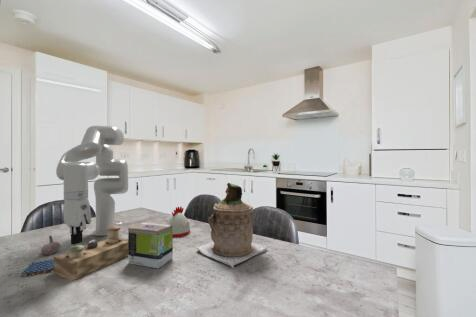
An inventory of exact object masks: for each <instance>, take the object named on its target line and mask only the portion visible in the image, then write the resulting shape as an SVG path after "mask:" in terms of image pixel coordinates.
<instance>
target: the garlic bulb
mask: <svg viewBox="0 0 476 317" xmlns="http://www.w3.org/2000/svg"><path fill="white" fill-rule="evenodd" d="M48 238H49V243H47V244H44V245H43V246H42V247H40V248H41V250H40V252H41V253H42V254H43V255H47V256H51V255H52V254H53V253H56V252H58V251H59V250H60V248H61V243H60V242H59V241H54V239H53V236H52V235H49V236H48Z"/></svg>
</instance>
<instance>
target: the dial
mask: <svg viewBox="0 0 476 317" xmlns="http://www.w3.org/2000/svg"><path fill="white" fill-rule="evenodd" d="M98 242H99V240H98V239H90V240H88V241H87V245H86V246H87V248H88V249H93V248H96V247H98Z"/></svg>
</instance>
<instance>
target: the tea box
mask: <svg viewBox="0 0 476 317" xmlns="http://www.w3.org/2000/svg"><path fill="white" fill-rule="evenodd" d="M127 229H128V232H127V234H128V236H127V237H128V238H127V240H128V256H127V257H128V260H127V261H128V263H129V264H132V265H137V266H138V265H139V266H143V267H148V268H153V269H160V268H162V267H163V266H164V265H165V264H167V263H168V262H170V261H171V260H173V258H174V257H173V256H174V255H173V254H174V253H173V252H174V251H173V250H174V247H173V243H174V242H173V241H174V239H173V238H174V237H173V229H172V225H171V224H167V223H159V222H146V221H145V222H141V223H139V224H137V225H136V224H135V225H133V226H130V227H128V228H127Z"/></svg>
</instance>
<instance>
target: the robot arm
mask: <svg viewBox="0 0 476 317" xmlns="http://www.w3.org/2000/svg"><path fill="white" fill-rule="evenodd" d="M124 140H125V136H124V132H123V131H122V130H121V129H120V128H119V127H116V126H112V125H109V126H107V125H91V126H89V127H88V128H87V129H86V130H85V133H84V135H83V137H82V140H81V142H80V144H78V145H76V146H73V147H72V148H70V149H68V150H67V151H65V153H63V154H62V155H61V157H60V160H59V161H58V163H57V166H56V171H55V172H56V174H55V175H56V177H57V178H58V179H59V180H61V181H63V201H64V204H63V205H64V206H63V223H64V224H65V225H67V227H68V228H69V232H70V244H71V245H73V246H76V245H78V244H81V243H83V232H84V230H87V225H90V224H91V223H92V217H91V216H92V215H91V205H90V200H89V181H92V180H95V181H94V183H93V192H94V196H95V230H94V231H92V234H91V235H92V236H95V237H105V236H106V237H107V236H108V231H107V228H109V227H112V226H119V227H121V226H123V222H122V221H121V222H116V213H115V212H116V203H115V202H116V201H115V199H114V198H113V197H112V195H122V194H125V193H127V192H128V190H129V166H128V162H127V161H126V160H125V159H120V158H119V159H114V151H113V148H112V147H111V146H121V145H122V144H123V143H124ZM94 157H95V162H94V161H85V160H88V159H91V158H94ZM99 176H102V178H98V177H99ZM110 176H111V177H110ZM114 176H115V177H114ZM117 176H118V177H117Z"/></svg>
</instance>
